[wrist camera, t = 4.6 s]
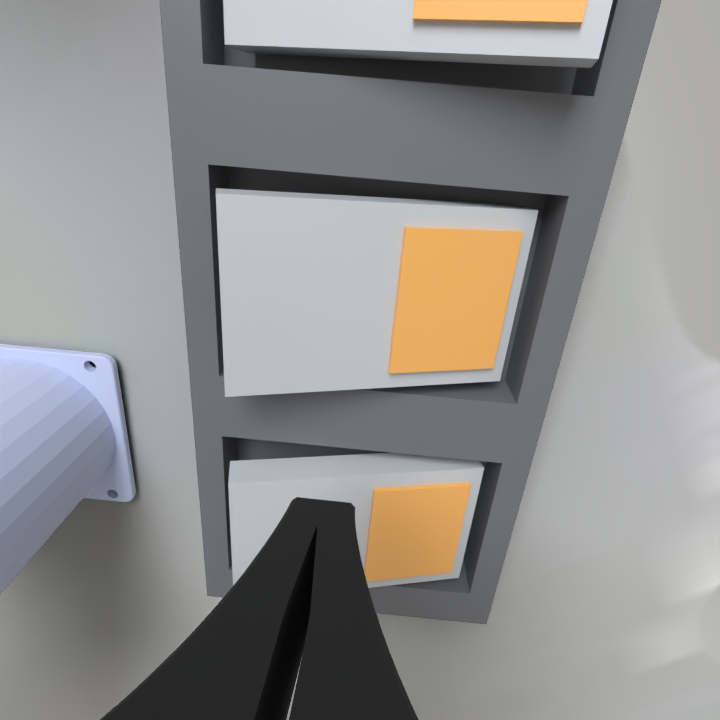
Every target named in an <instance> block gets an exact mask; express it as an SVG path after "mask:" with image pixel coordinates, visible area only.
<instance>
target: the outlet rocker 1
mask: <svg viewBox="0 0 720 720" xmlns="http://www.w3.org/2000/svg"><path fill="white" fill-rule="evenodd" d="M216 211H217V233H218V255H219V276H220V298H221V319H222V341H223V363H224V384H225V397H234V396H251V395H268V394H285V393H303V392H320V391H337V390H354V389H372V388H389V387H406V386H423V385H441V384H458V383H475V382H492V381H500V379H501V374H502V370H503V365H504V361H505V356H506V352H507V348H508V343H509V339H510V334H511V330H512V326H513V321H514V317H515V312H516V308H517V304H518V299H519V295H520V290H521V286H522V282H523V277H524V273H525V268H526V264H527V259H528V255H529V251H530V246H531V242H532V237H533V233H534V229H535V224H536V220H537V215H538V211H539V210H535V209H531V208H528V207H524V206H520V205H513V204H495V203H477V202H459V201H440V200H422V199H404V198H386V197H367V196H349V195H331V194H312V193H294V192H276V191H258V190H239V189H221V188H216Z"/></svg>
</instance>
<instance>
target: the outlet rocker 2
mask: <svg viewBox="0 0 720 720" xmlns="http://www.w3.org/2000/svg"><path fill="white" fill-rule="evenodd" d="M483 471H484V467H483V465H482V464H481V462H480V461H474V460H464V459H453V458H443V457H433V456H422V455H412V454H402V453H375V454H356V455H336V456H317V457H298V458H278V459H259V460H239V461H230V469H229V480H228V489H229V511H230V532H231V553H232V574H233V585H234V584H235V583H236V582H237V580H238V579H239V578H240V577H241V576H242V574H243V573H244V572H245V570H246V569H247V568H248V566H249V565H250V564H251V562H252V561H253V560H254V558H255V557H256V555H257V554H258V553H259V551H260V550H261V549H262V547H263V546H264V545H265V543H266V542H267V540H268V539H269V537H270V536H271V534H272V533H273V531H274V530H275V528H276V527H277V525H278V524H279V522H280V520H281V519H282V517H283V515H284V514H285V512H286V510H287V508H288V507H289V505H290V503H291V501H292V500H293V499H295V498H296V497H301V498H311V499H320V500H330V501H339V502H348V503H352V505H353V506H354V507H355V525H356V533H357V540H358V546H359V551H360V556H361V561H362V565H363V569H364V573H365V577H366V581H367V585H368V588H372V587H381V586H390V585H399V584H408V583H417V582H426V581H435V580H444V579H453V578H459V575H460V571H461V566H462V562H463V558H464V554H465V549H466V545H467V541H468V536H469V532H470V528H471V523H472V519H473V515H474V510H475V506H476V502H477V497H478V493H479V489H480V484H481V480H482V476H483Z"/></svg>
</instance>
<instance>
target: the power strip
mask: <svg viewBox="0 0 720 720" xmlns="http://www.w3.org/2000/svg"><path fill="white" fill-rule="evenodd" d="M660 4H661V0H613V2H612V6H611V10H610V14H609V18H608V22H607V27H606V31H605V35H604V39H603V43H602V47H601V51H600V55H599V59H598V60H597V61H596V62H595V64H594V65H593V66H592V67H591V68H581V67H557V66H534V65H511V64H487V63H464V62H440V61H417V60H394V59H370V58H347V57H324V56H300V55H277V54H253V53H246V52H243V51H241V50H238V49H235V48H233V47H230V46H228V45H225V37H224V8H223V0H160V12H161V24H162V37H163V49H164V61H165V74H166V86H167V99H168V111H169V124H170V136H171V149H172V161H173V174H174V186H175V199H176V211H177V224H178V236H179V249H180V261H181V274H182V286H183V298H184V311H185V323H186V336H187V348H188V361H189V373H190V386H191V398H192V411H193V423H194V436H195V448H196V461H197V473H198V486H199V498H200V510H201V523H202V535H203V548H204V560H205V573H206V585H207V596H214V597H224V596H225V595H226V594H227V593H228V591H229V590H230V589H231V588H232V587H233V574H232V553H231V532H230V511H229V489H228V480H229V469H230V461H239V460H259V459H278V458H298V457H317V456H336V455H356V454H375V453H402V454H412V455H422V456H433V457H443V458H453V459H464V460H474V461H480V462H481V464H482V465H483V467H484V471H483V476H482V480H481V484H480V489H479V493H478V497H477V502H476V506H475V510H474V515H473V519H472V523H471V528H470V532H469V536H468V541H467V545H466V549H465V554H464V558H463V562H462V566H461V571H460V575H459V578H453V579H444V580H435V581H426V582H417V583H408V584H399V585H390V586H381V587H372V588H369V592H370V595H371V599H372V602H373V606H374V609H375V612H376V613H381V614H391V615H401V616H411V617H421V618H430V619H440V620H450V621H460V622H470V623H480V624H486V623H487V620H488V616H489V612H490V609H491V605H492V602H493V598H494V595H495V591H496V588H497V584H498V580H499V577H500V573H501V570H502V566H503V563H504V559H505V556H506V552H507V548H508V545H509V541H510V538H511V534H512V531H513V527H514V523H515V520H516V516H517V513H518V509H519V506H520V502H521V499H522V495H523V491H524V488H525V484H526V481H527V477H528V474H529V470H530V467H531V463H532V459H533V456H534V452H535V449H536V445H537V442H538V438H539V434H540V431H541V427H542V424H543V420H544V417H545V413H546V410H547V406H548V402H549V399H550V395H551V392H552V388H553V385H554V381H555V378H556V374H557V370H558V367H559V363H560V360H561V356H562V353H563V349H564V345H565V342H566V338H567V335H568V331H569V328H570V324H571V321H572V317H573V313H574V310H575V306H576V303H577V299H578V296H579V292H580V289H581V285H582V281H583V278H584V274H585V271H586V267H587V264H588V260H589V256H590V253H591V249H592V246H593V242H594V239H595V235H596V232H597V228H598V224H599V221H600V217H601V214H602V210H603V207H604V203H605V200H606V196H607V192H608V189H609V185H610V182H611V178H612V175H613V171H614V167H615V164H616V160H617V157H618V153H619V150H620V146H621V143H622V139H623V135H624V132H625V128H626V125H627V121H628V118H629V114H630V111H631V107H632V103H633V100H634V96H635V92H636V89H637V85H638V82H639V78H640V75H641V71H642V68H643V64H644V60H645V57H646V54H647V50H648V46H649V43H650V39H651V36H652V32H653V29H654V25H655V21H656V18H657V14H658V11H659V7H660ZM216 188H221V189H239V190H258V191H276V192H294V193H312V194H331V195H349V196H367V197H386V198H404V199H422V200H440V201H459V202H477V203H495V204H513V205H520V206H524V207H528V208H531V209H535V210H539V211H538V215H537V220H536V224H535V229H534V233H533V237H532V242H531V246H530V251H529V255H528V259H527V264H526V268H525V273H524V277H523V282H522V286H521V290H520V295H519V299H518V304H517V308H516V312H515V317H514V321H513V326H512V330H511V334H510V339H509V343H508V348H507V352H506V356H505V361H504V365H503V370H502V374H501V379H500V381H492V382H475V383H458V384H441V385H423V386H406V387H389V388H372V389H354V390H337V391H320V392H303V393H285V394H268V395H251V396H234V397H225V384H224V363H223V341H222V319H221V298H220V276H219V255H218V233H217V211H216Z"/></svg>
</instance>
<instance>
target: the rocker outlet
mask: <svg viewBox="0 0 720 720" xmlns="http://www.w3.org/2000/svg"><path fill="white" fill-rule="evenodd" d="M612 2H613V0H223V8H224V37H225V45H228V46H230V47H233V48H235V49H238V50H241V51H243V52H246V53H253V54H277V55H300V56H324V57H347V58H370V59H394V60H417V61H440V62H464V63H487V64H511V65H534V66H557V67H581V68H591V67H592V66H593V65H594V64H595V62H596V61H597V60H598V59H599V55H600V51H601V47H602V43H603V39H604V35H605V31H606V27H607V22H608V18H609V14H610V10H611V6H612Z"/></svg>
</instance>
